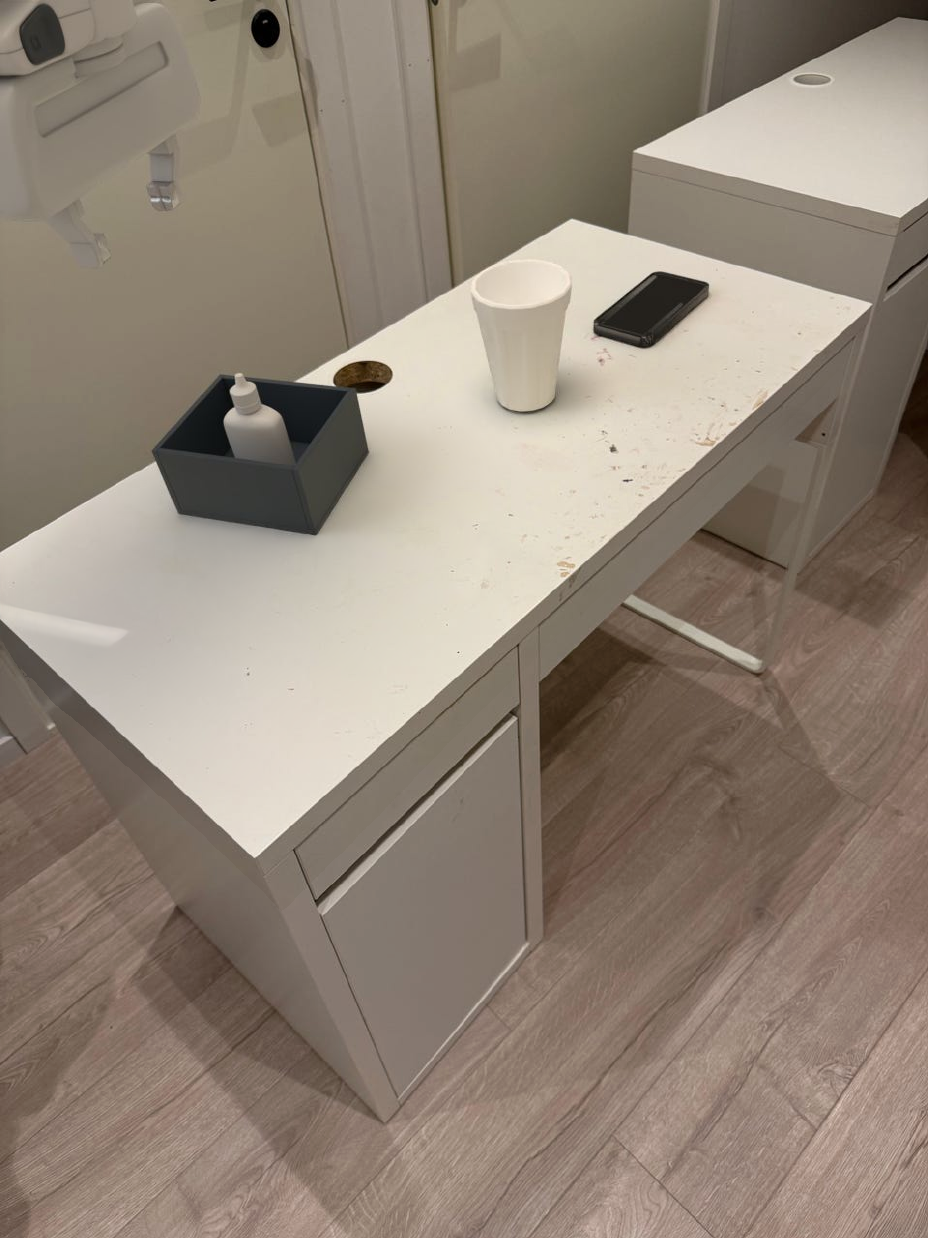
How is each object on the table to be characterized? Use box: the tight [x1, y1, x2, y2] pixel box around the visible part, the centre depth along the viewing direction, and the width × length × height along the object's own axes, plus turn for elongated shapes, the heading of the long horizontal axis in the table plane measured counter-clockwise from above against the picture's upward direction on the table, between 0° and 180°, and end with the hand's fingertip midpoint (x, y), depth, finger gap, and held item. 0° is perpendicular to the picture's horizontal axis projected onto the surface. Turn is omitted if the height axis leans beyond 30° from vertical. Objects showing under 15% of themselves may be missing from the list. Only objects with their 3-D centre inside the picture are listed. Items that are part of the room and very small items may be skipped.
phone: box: [592, 271, 710, 348], centre depth 105 cm, size 8×1×15 cm
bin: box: [151, 373, 370, 536], centre depth 87 cm, size 15×13×8 cm
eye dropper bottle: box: [224, 372, 296, 466], centre depth 84 cm, size 4×6×12 cm
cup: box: [470, 258, 573, 412], centre depth 91 cm, size 10×10×13 cm
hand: (134, 234), depth 62 cm, fingers open, 8 cm apart
